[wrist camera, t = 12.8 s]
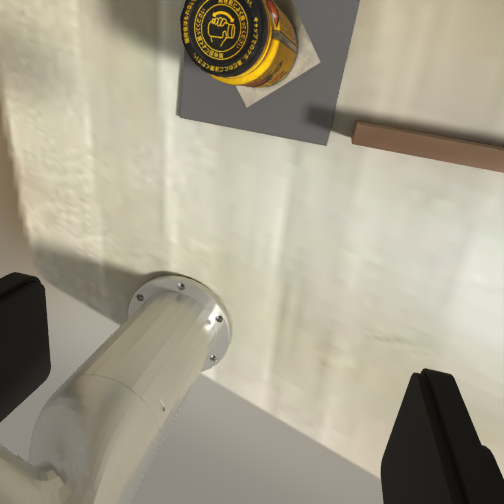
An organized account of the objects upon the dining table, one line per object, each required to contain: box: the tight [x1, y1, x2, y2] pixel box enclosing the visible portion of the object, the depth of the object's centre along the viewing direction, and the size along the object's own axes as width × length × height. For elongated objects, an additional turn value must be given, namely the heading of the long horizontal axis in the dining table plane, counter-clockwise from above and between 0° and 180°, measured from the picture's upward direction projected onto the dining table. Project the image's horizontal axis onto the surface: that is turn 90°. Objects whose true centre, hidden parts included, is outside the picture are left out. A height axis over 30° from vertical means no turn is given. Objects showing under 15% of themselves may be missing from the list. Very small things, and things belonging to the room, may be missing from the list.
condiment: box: [180, 0, 320, 108], centre depth 28 cm, size 7×8×12 cm
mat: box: [180, 0, 360, 146], centre depth 33 cm, size 14×14×1 cm
